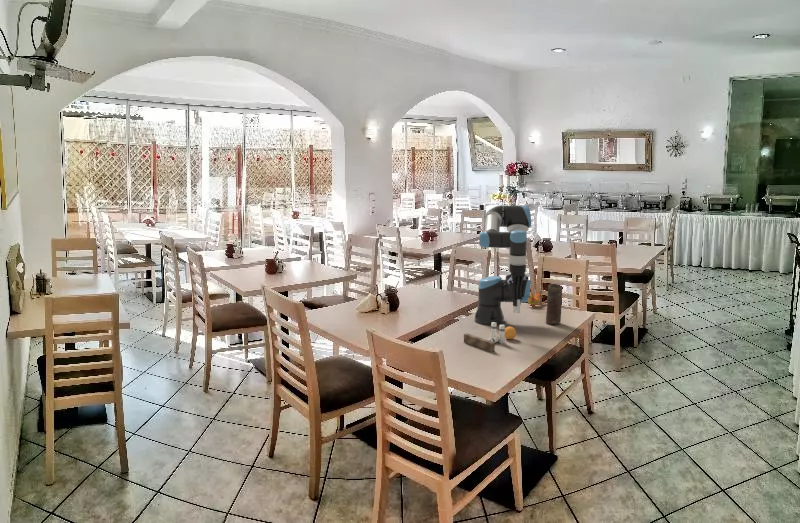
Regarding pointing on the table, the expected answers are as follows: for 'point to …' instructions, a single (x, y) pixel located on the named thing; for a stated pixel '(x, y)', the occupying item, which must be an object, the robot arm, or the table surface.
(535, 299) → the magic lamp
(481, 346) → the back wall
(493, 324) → the pin
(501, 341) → the pin
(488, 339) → the front pin
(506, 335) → the ball
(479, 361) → the table surface
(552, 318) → the rusty brown cylinder
